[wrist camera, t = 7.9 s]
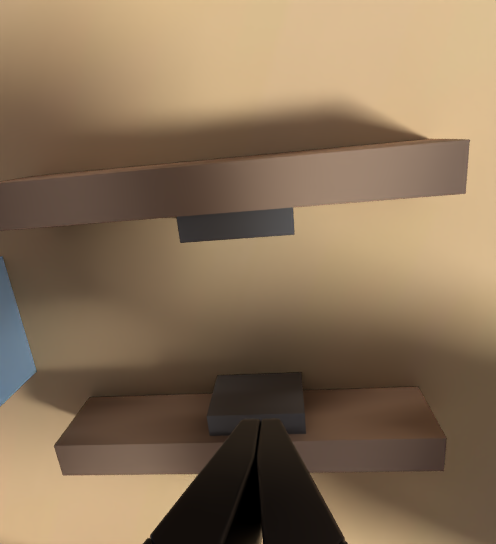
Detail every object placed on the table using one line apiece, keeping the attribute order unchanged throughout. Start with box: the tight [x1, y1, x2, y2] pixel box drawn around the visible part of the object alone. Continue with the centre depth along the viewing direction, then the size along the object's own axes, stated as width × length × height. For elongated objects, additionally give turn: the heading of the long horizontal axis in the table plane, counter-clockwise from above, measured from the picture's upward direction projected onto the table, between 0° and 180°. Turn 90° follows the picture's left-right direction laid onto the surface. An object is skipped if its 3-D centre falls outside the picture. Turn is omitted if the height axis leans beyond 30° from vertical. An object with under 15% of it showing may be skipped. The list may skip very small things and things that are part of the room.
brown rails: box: [0, 139, 470, 475], centre depth 12 cm, size 12×9×2 cm
